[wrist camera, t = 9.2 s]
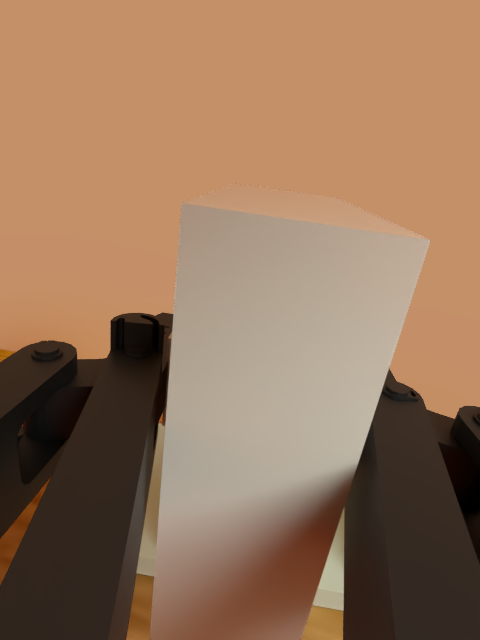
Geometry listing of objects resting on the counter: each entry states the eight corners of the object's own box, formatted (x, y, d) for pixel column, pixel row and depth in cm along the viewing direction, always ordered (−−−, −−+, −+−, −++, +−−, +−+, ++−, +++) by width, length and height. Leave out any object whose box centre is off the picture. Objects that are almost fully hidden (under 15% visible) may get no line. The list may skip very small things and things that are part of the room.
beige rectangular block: (277, 473, 17) (338, 198, 13) (279, 703, 10) (430, 240, 5) (201, 460, 17) (234, 182, 13) (146, 680, 10) (181, 203, 5)
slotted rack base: (350, 469, 33) (363, 427, 32) (387, 618, 22) (411, 567, 21) (128, 431, 34) (129, 388, 32) (56, 558, 23) (53, 504, 21)
